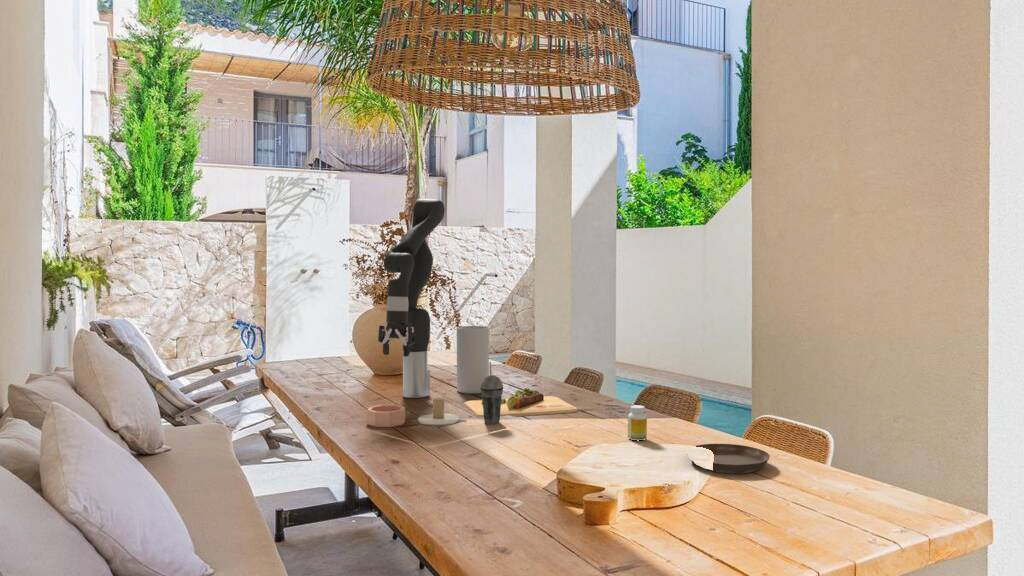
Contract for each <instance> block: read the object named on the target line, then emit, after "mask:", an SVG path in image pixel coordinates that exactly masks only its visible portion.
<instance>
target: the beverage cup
mask: <svg viewBox="0 0 1024 576" xmlns="http://www.w3.org/2000/svg"><path fill="white" fill-rule="evenodd" d="M480 389H481V393H480V394H481V400H483V412H484V416H483V420H484V424H485V425H489V426H490V425H492V426H493V425H498V424H500V421H501V416H500V410H501V399H503V398H502V397H503V393H504V392H503V391H504V385H503V382H502V379H500V377H498V376H497V375H494V374H493V373H492V361H489V376H487V377H485V378H484V380H483V381H482V383H481V388H480Z"/></svg>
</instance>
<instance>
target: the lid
mask: <svg viewBox="0 0 1024 576" xmlns="http://www.w3.org/2000/svg"><path fill="white" fill-rule="evenodd" d="M417 419H418V422H419V423H421V425H423V424H424V426H427V425H433V426H440V425H447V426H451V425H455V423H456V424H458V423H457V422H459V419H460V416H458V415H457V414H453V413H445V398H443V397H435V398H433V399H432V413H427V414H422V415H420V416H418V417H417ZM419 423H418V424H419ZM450 424H451V425H450Z"/></svg>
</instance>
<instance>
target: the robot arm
mask: <svg viewBox="0 0 1024 576" xmlns="http://www.w3.org/2000/svg"><path fill="white" fill-rule="evenodd" d="M445 211H446V210H445V205H444V203H443V201H442V200H441V199H437V198H436V199H434V198H417V200H416V201H415V202H414V205H413V211H412V226H411V228H410V229H409V230H408V231H406V233H405V234H404V235H403V237H402V238H401V240H400V241H399V242H398V244H397V245H395V246H394V247H393V248H392V249H391V250H389V251H388V252H387V254H386V255H385V256H384V258H383V267H384V269H385V270H386V271H387V272H388V273H393V274H399V276H398V278H395V279H391V280H389V281H388V284H387V287H388V288H387V300H386V324H380V325H379V328H378V336H377V338H378V339H377V340H378V342H379V343H382V354H383V355H384V356H388V355H390V342H391V341H392V340H393V339H398V340H400V341H401V342H402V343H403V344H402V397H404V398H410V399H417V398H418V399H419V398H426V397H428V396H431V395H430V393H431V391H430V390H431V383H430V381H431V379H430V378H431V376H430V374H431V373H430V370H429V369H428V364H429V363H428V358H429V357H428V346H429V343H430V338H431V337H430V334H431V317H430V314H429V311H428V310H426V309H424V308H422V307H421V308H420V307H418V301H419V297H420V295H421V293H422V291H423V289H424V287H426V285H427V283H428V281H429V279H430V278H431V275H432V269H433V262H434V256H433V253H432V250H431V249H430V246H429V244H428V242H427V240H426V239H427V237H429V235H430V234H431V233H432V232H434V230H435V229H436V228H437V227H438V226H439V225H440V223H442V221H443V219H444V217H445Z"/></svg>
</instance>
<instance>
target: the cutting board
mask: <svg viewBox="0 0 1024 576" xmlns="http://www.w3.org/2000/svg"><path fill="white" fill-rule="evenodd" d="M463 406H464V407H467V408H468V409H469V410H470V411H471V412H473V413H474V414H475V415H476V416H478V417H484V412H483V400H482V399H476V400H474V399H473V400H468V401H465V402H463ZM577 412H578V407H575V406H574V405H572V404H570V403H568V402H567V401H565V400H564V399H562V398H559V397H557V396H554V395H546V396H545V395H544V394H543V393H541V392H539V391H538V390H537V389H534V390H531V389H530V388H529V387H525V388H524V389H523V390H522V391H521V390H519V389H518V390H514V395H511V396H510V397H509V398H501V410H500V417H501V416H508V417H509V416H510V417H524V416H526V417H527V416H542V415H556V414H559V415H560V414H573V413H577Z"/></svg>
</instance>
